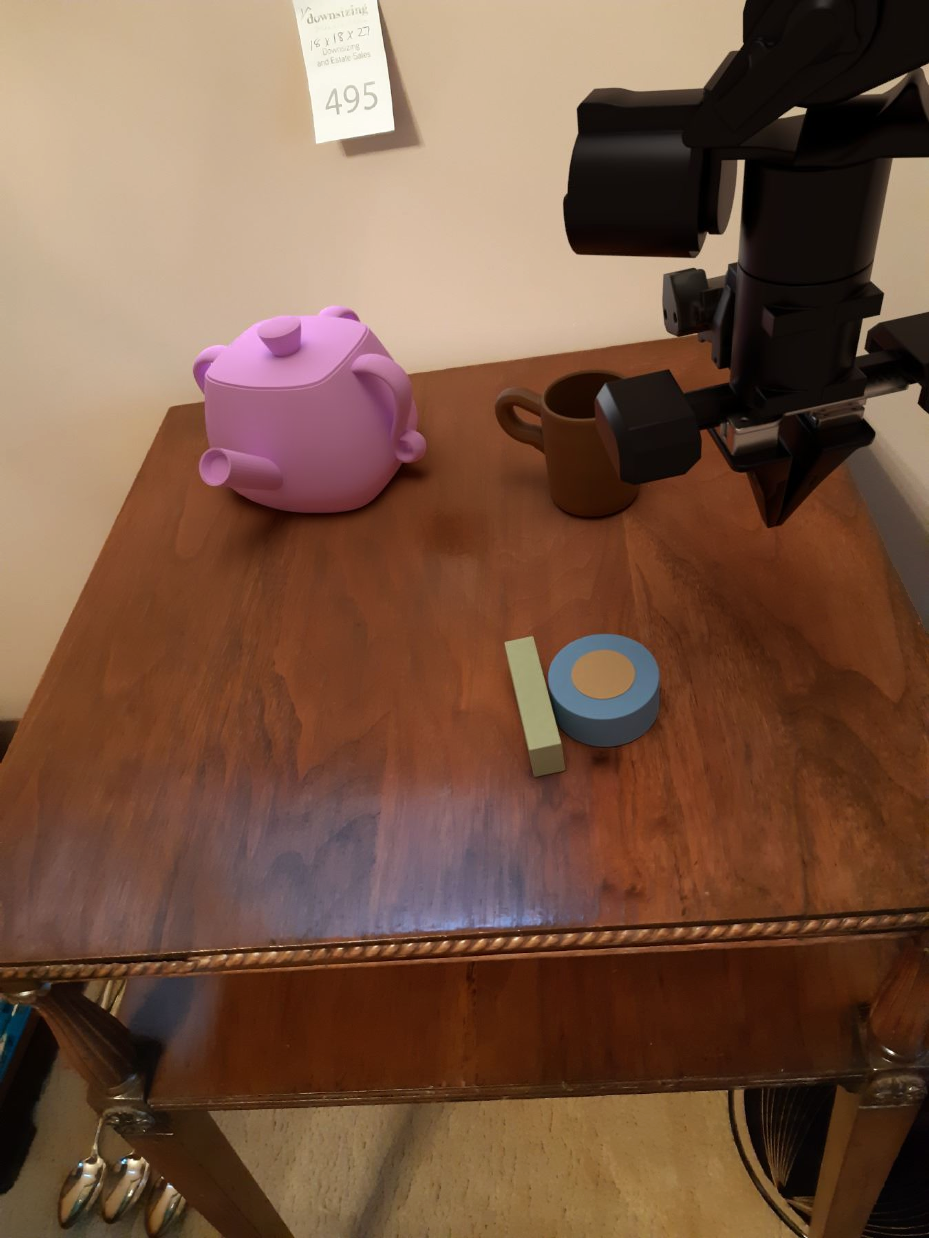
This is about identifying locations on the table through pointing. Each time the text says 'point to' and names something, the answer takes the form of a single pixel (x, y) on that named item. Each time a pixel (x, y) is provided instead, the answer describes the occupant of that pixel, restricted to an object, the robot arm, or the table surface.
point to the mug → (569, 441)
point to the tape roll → (604, 689)
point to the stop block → (534, 707)
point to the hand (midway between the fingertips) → (771, 522)
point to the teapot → (306, 413)
